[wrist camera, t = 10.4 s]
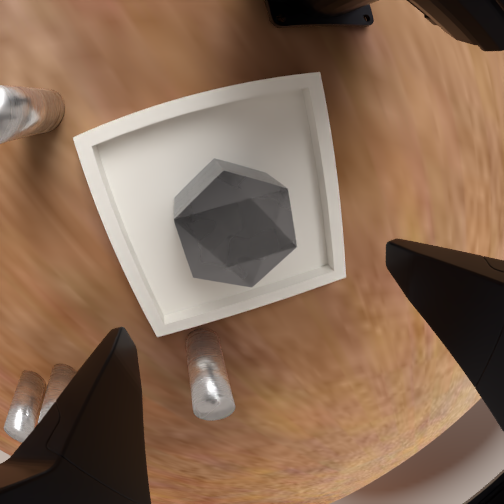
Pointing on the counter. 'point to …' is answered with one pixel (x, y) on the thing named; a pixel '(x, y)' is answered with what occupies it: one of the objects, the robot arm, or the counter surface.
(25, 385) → the spacer posts
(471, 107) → the counter surface
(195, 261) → the grey faceted icosahedron
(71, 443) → the robot arm
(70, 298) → the counter surface
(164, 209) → the tray
